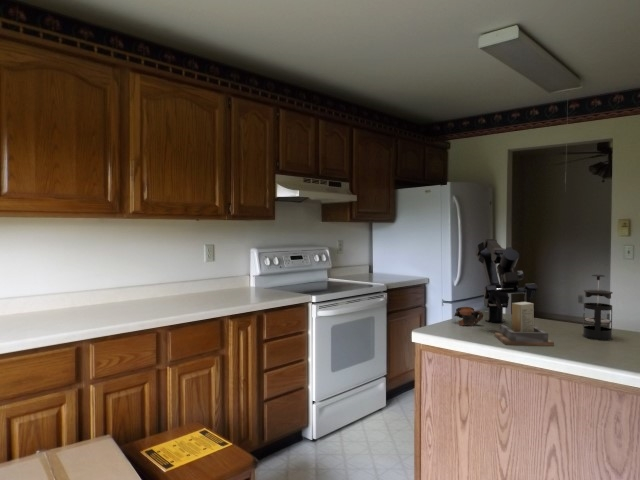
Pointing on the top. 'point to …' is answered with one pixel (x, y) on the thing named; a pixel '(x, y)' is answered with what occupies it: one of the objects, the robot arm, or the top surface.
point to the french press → (597, 315)
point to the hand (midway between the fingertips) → (514, 310)
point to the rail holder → (523, 337)
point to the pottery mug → (468, 316)
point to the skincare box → (523, 317)
